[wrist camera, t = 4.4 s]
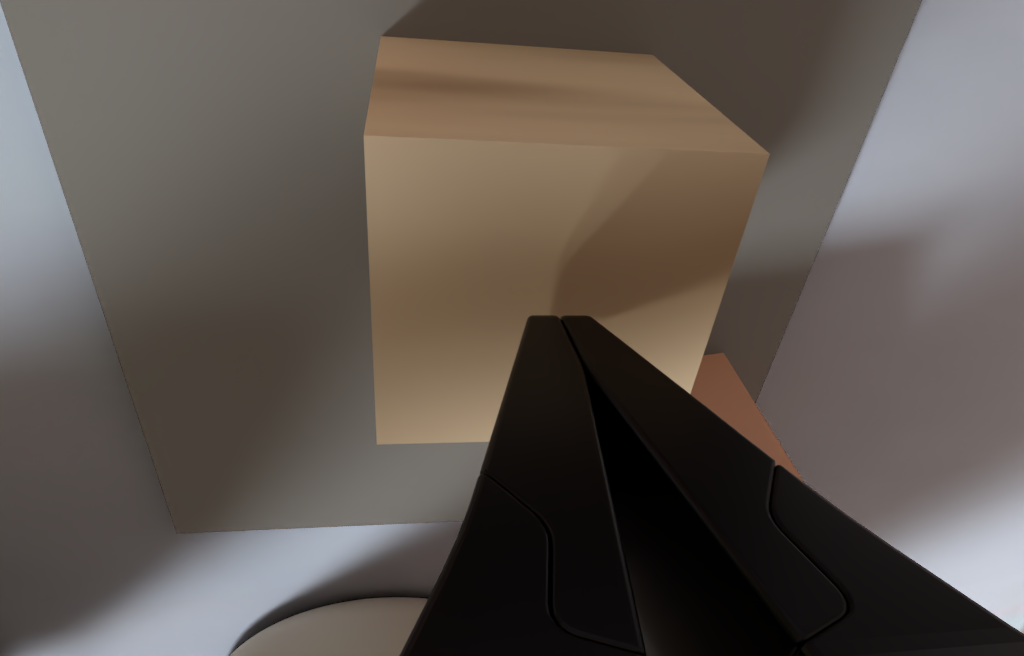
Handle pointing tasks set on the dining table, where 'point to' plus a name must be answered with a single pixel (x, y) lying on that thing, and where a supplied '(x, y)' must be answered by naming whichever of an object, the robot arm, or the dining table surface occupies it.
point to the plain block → (538, 218)
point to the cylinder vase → (340, 630)
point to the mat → (343, 211)
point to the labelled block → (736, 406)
